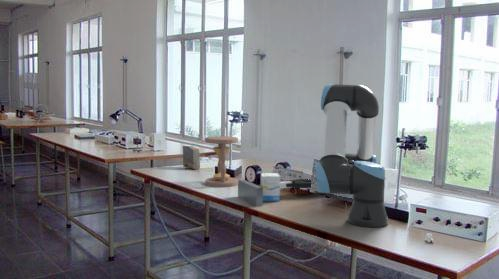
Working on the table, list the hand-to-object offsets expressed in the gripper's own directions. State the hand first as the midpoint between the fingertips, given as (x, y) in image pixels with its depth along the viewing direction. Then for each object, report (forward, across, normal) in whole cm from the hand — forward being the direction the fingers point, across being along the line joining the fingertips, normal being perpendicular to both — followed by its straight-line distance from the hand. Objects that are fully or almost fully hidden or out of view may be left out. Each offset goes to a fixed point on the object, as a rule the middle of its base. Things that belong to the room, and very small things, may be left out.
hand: (279, 185), depth 220 cm
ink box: (+5, -1, -6) cm, 8 cm away
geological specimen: (+14, +93, -6) cm, 94 cm away
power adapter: (-16, -78, -7) cm, 79 cm away
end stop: (+16, 0, -6) cm, 17 cm away
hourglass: (+13, +41, -6) cm, 43 cm away
